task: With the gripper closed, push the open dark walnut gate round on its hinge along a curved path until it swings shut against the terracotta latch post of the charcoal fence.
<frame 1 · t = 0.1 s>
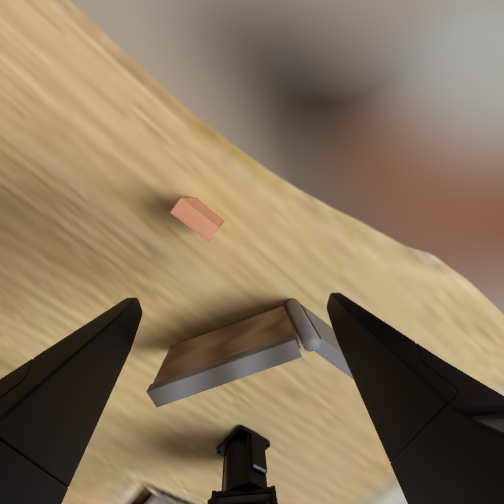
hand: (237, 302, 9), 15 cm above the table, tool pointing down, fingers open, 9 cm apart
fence: (292, 304, 27), on the table
gate: (227, 349, 23), point 4 cm above the table, hinge at 60.0°
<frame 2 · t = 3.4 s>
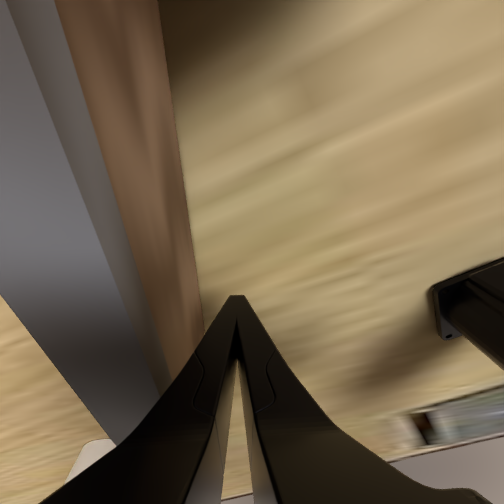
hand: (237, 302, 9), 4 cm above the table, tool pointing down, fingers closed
cylindrical container: (115, 448, 25), on the table
gate: (147, 258, 7), point 4 cm above the table, hinge at 60.0°, touching gripper
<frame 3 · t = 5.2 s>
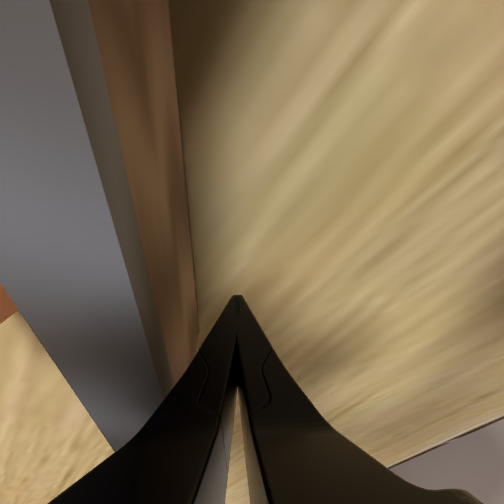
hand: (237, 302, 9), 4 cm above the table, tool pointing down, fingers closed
gate: (149, 258, 7), point 4 cm above the table, hinge at 28.6°, touching gripper
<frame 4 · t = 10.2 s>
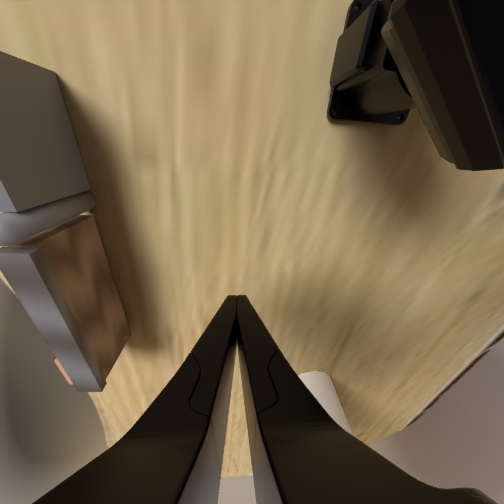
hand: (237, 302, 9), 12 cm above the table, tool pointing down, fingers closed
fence: (85, 199, 18), on the table
cylindrical container: (310, 381, 36), on the table
gate: (87, 307, 19), point 4 cm above the table, hinge at -0.2°
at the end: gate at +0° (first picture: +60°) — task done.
